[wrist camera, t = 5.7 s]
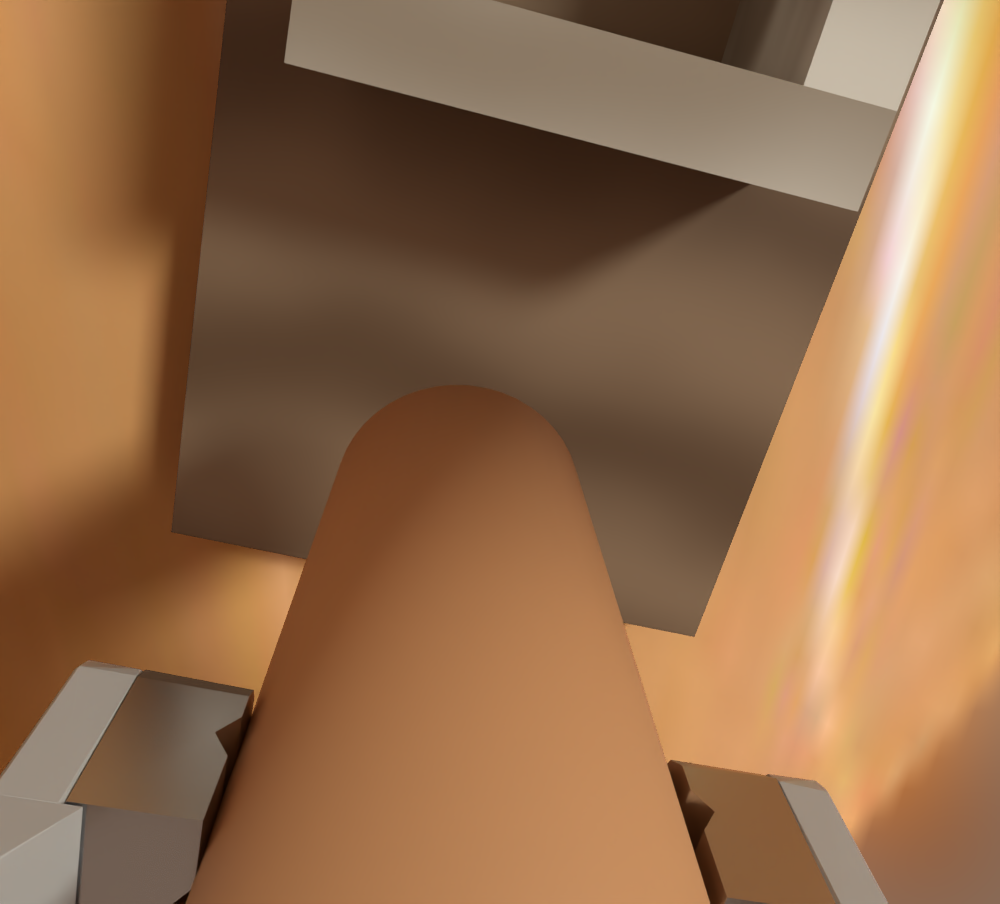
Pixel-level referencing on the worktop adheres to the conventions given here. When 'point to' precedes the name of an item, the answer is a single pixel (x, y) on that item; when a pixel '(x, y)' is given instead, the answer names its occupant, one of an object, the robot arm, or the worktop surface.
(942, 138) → the worktop surface
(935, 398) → the worktop surface
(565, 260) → the well board
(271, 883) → the peg
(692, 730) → the worktop surface
